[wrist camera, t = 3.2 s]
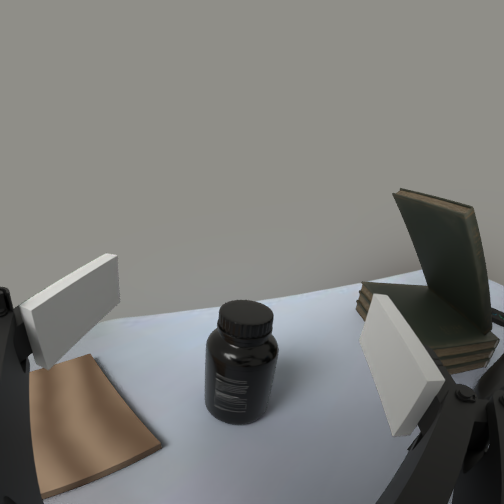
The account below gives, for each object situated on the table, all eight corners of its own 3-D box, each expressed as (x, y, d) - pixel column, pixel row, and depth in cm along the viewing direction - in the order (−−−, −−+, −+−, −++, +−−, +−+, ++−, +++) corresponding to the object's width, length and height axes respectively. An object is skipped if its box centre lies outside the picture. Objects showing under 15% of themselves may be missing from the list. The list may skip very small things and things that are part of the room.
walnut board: (91, 359, 30) (90, 353, 30) (161, 448, 21) (160, 443, 20) (-13, 390, 18) (-17, 384, 18) (21, 505, 9) (15, 500, 9)
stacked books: (485, 369, 34) (536, 229, 26) (404, 385, 32) (466, 204, 25) (426, 311, 55) (455, 202, 48) (353, 309, 54) (381, 183, 47)
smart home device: (475, 300, 59) (530, 323, 46) (473, 305, 60) (527, 329, 46) (473, 308, 54) (532, 334, 40) (471, 315, 54) (530, 340, 41)
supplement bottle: (279, 407, 28) (301, 317, 25) (232, 437, 24) (244, 343, 20) (238, 376, 33) (248, 288, 29) (191, 397, 28) (192, 304, 25)
